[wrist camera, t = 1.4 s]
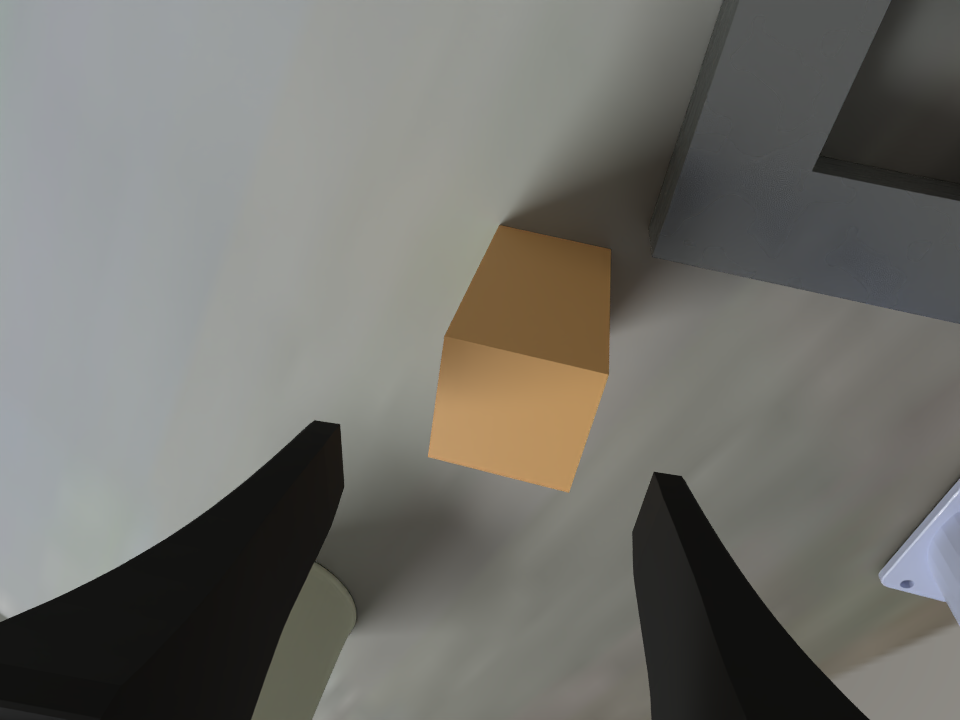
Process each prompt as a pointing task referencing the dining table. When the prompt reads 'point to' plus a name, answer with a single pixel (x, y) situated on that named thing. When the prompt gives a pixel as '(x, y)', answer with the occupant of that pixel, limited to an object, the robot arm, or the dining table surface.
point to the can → (307, 649)
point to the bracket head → (801, 169)
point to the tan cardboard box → (525, 360)
